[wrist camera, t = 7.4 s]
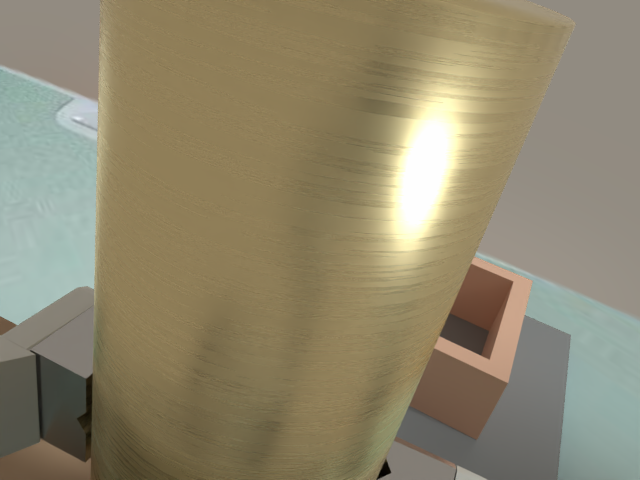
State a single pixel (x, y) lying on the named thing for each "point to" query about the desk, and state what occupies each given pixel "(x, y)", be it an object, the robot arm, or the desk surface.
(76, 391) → the robot arm
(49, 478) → the wooden block with recess
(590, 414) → the desk surface
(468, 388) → the stand
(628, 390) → the desk surface
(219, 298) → the axle
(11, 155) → the desk surface
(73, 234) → the desk surface
